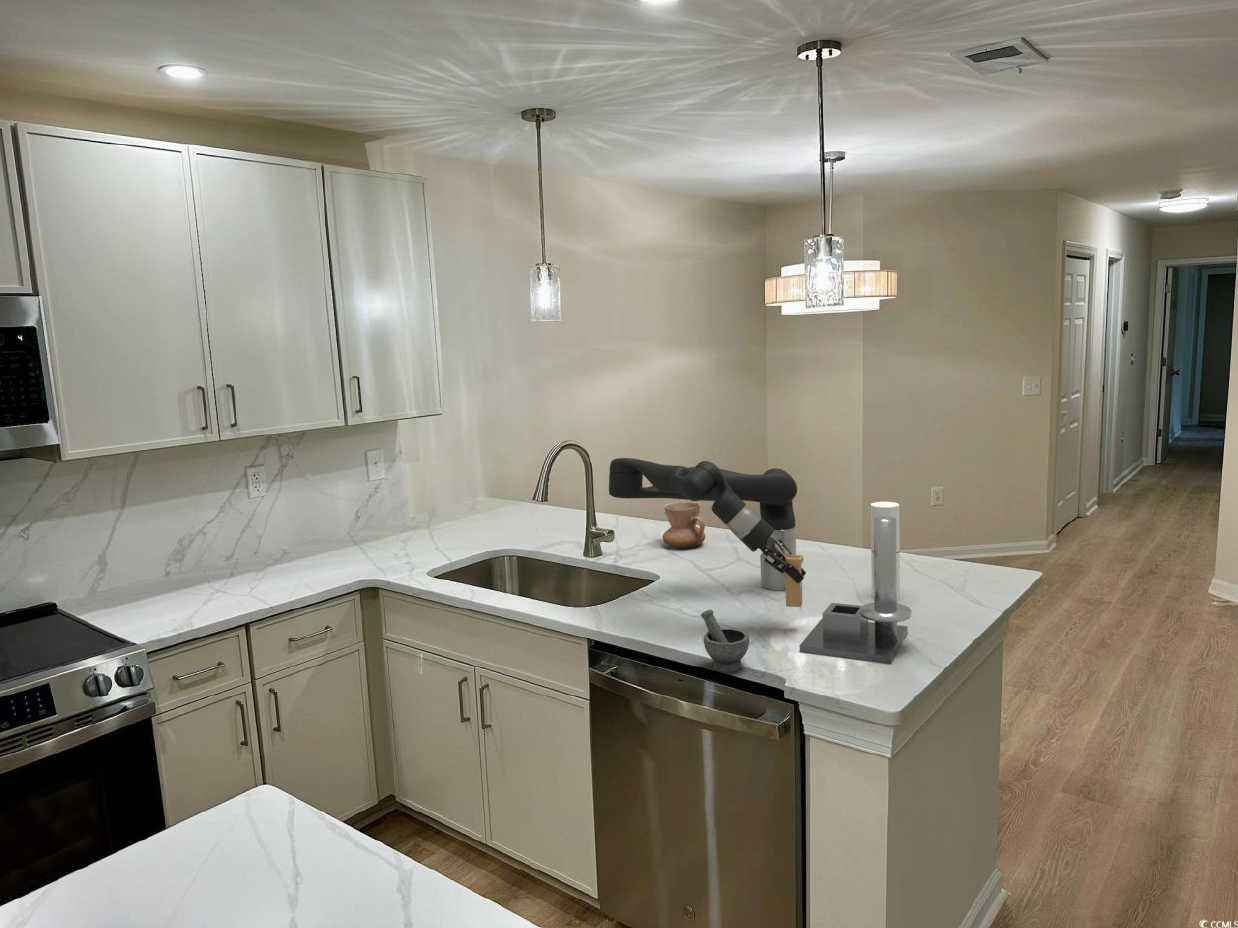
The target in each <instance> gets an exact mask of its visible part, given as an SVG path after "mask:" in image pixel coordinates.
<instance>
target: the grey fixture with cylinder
mask: <svg viewBox="0 0 1238 928" xmlns="http://www.w3.org/2000/svg"><path fill="white" fill-rule="evenodd" d="M897 600H898V599H897V563H896V518H894V517H876V518H874V598H873V601H874V602H869V603H866V604H863V605H859V604H847V603H840V602H839V603H838V602H831V603H830V604H829V605H828V606H827V608H825V610H824V611H823V612H822V618H821V619H820V620H819V622H818V623H817V624H816V625H815V626H814V628H813V629H812V630H811V631H810V632H809V633H808V635H807V636H806V637H805V638H804V640H802V642H801V643H800V644H799V653H806V654H813V655H814V654H815V655H821V656H822V655H824V656H830V657H836V658H838V657H839V658H845V659H852V660H860V661H869V662H875V663H881V664H890V665H891V664H892V662H893V661H894V658H895V657H896V655H897V653H898V651H899V650H900V648H901V646H902V644H903V642H904V640H905V638H906V637H907V635H908V633H909V632H908V630H909V629H908V627H909V626H907V625H900V624H898V623H900V622H905V621H908V620H909V619H911V618H912V609H911V608H910V607H909V606H907V605H904V604H902V603H898V602H897ZM870 621H871V622H870ZM872 621H873V622H872Z"/></svg>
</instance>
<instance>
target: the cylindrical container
mask: <svg viewBox="0 0 1238 928" xmlns="http://www.w3.org/2000/svg"><path fill="white" fill-rule="evenodd" d="M876 517H894V518H896V563H897V600H899V599H900V598H901V587H900V585H901V580H900V579H901V578H900V577H901V574H900V572H901V569H900V568H901V565H900V564H901V563H900V562H901V559H900V557H901V556H900V554H901V553H900V551H901V549H900V547H901V546H900V545H901V544H900V504H899V503H898V502H894V501H875V502H872V503H870V538H871V540H870V545H871V546H870V547H871V550H870V552H871V553H870V554H871V555H870V557H871V559H870V560H871V562H870V563H871V597H872V598H873V599H874V518H876Z"/></svg>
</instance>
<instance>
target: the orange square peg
mask: <svg viewBox="0 0 1238 928" xmlns="http://www.w3.org/2000/svg"><path fill="white" fill-rule="evenodd" d="M786 556H787V559H786V560H787V561H788V562H789V563H790V564H792V566H794V567H795V568H796V569H797V570H798V571H799V572H800V573H801V574H802V572H801V568H802V564H803V563H804V554H796V555H786ZM785 588H786V590H785V606H786V607H789V608H791V607H792V608H802V606H803V580H802V581H801V582H800V583H796V582H795V581H794V580H793V579H792V578H791V577H790V576H789V575H788V574H787V573H785Z"/></svg>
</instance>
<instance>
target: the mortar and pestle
mask: <svg viewBox="0 0 1238 928" xmlns="http://www.w3.org/2000/svg"><path fill="white" fill-rule="evenodd" d="M700 616H701V618H702V619H703V620H704V622H705V625H706V628H707V632H706V633H705V634H704V635H703V644H704V649H705V650H706V651H705V652H706V653H707V654H708V656H709V657H710V658H711V660H713V662H712V666H713V668H714V670H716V671H720V672H734V671H738V670H740V669H741V667H743V665H742V659H743V658H744V657H745V655H746V653H747V652H748V650H749V647H750V646H749V645H750V635H749V634H748V633H747V632H746V631H744V630H740V629H737V628H721V626H720V624H719V622H718V621H717V619H716V618H715V615H714V611H713V609H707V610H705V611H703V612H702V613H700Z"/></svg>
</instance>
